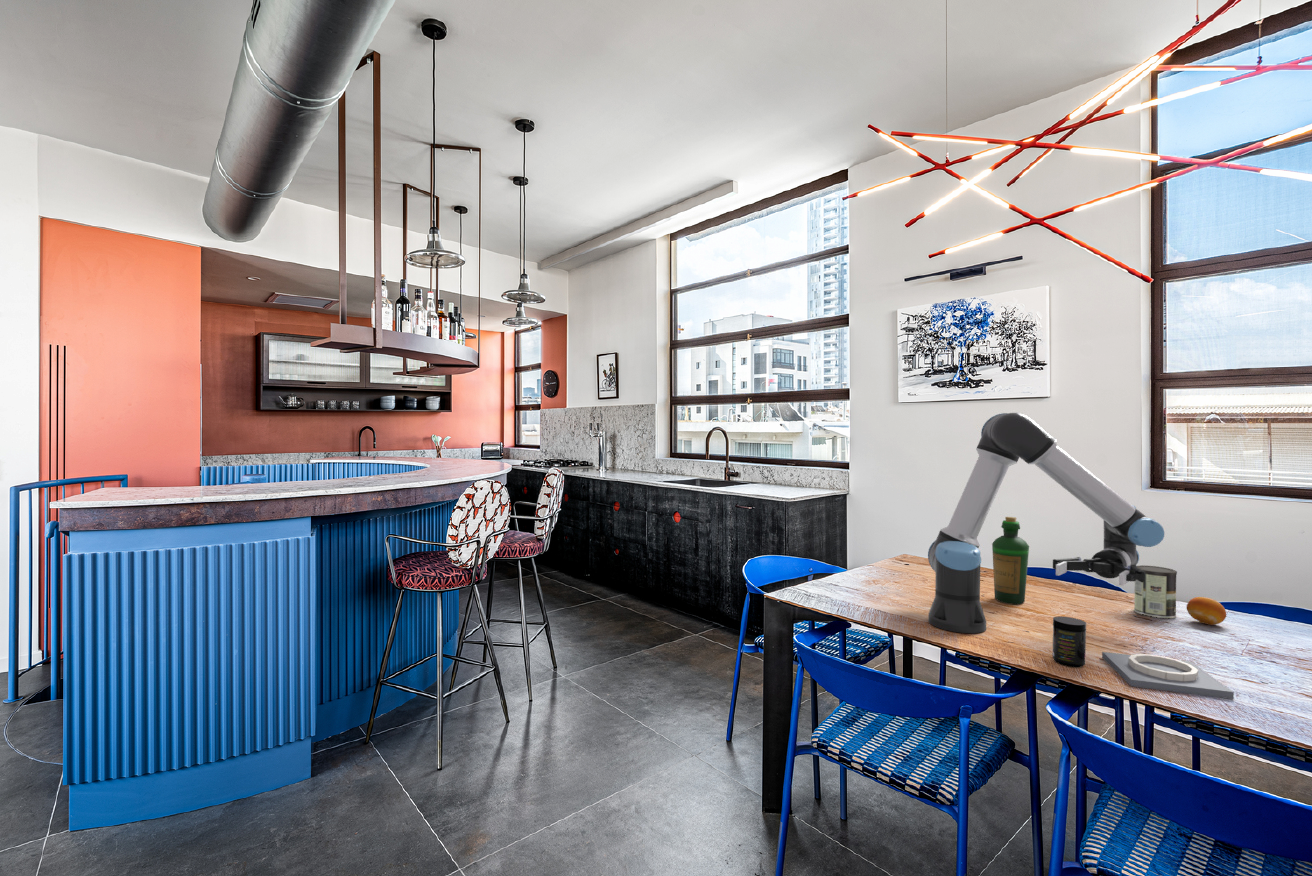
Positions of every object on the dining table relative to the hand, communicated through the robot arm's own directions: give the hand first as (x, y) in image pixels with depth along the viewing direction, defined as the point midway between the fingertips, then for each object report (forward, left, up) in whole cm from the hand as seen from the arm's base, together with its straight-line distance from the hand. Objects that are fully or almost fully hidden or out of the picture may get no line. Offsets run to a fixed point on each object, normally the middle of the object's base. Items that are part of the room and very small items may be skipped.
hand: (1088, 574), depth 154 cm
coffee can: (+31, +47, -20) cm, 60 cm away
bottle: (-9, +46, -20) cm, 51 cm away
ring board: (+11, -12, -20) cm, 26 cm away
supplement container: (-7, -10, -20) cm, 23 cm away
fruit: (+41, +40, -20) cm, 61 cm away
